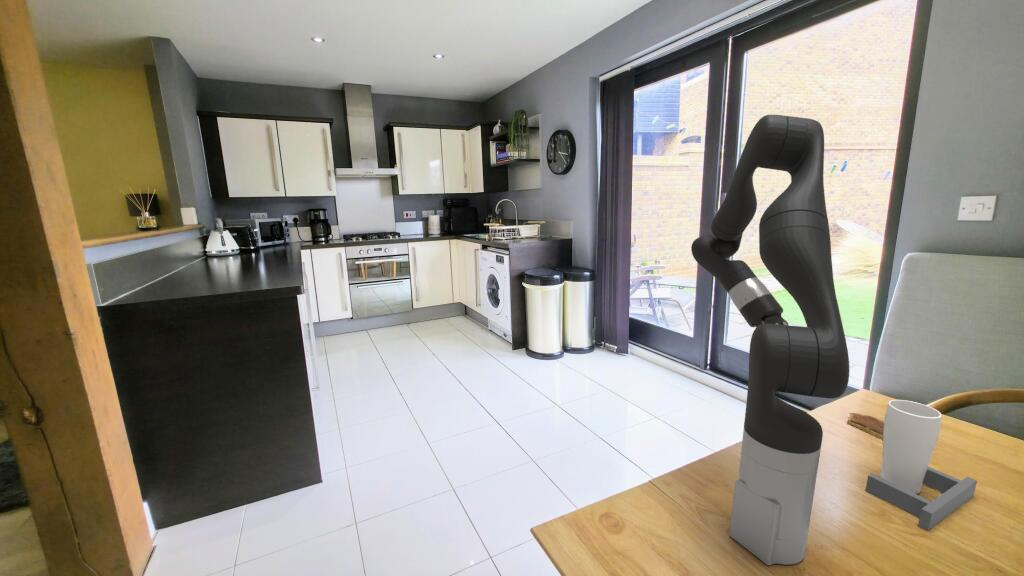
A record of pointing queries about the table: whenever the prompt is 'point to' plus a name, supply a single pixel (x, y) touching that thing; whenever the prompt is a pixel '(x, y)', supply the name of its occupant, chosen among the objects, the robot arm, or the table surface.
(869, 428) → the shard
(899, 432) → the white cup
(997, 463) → the table surface
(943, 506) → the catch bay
